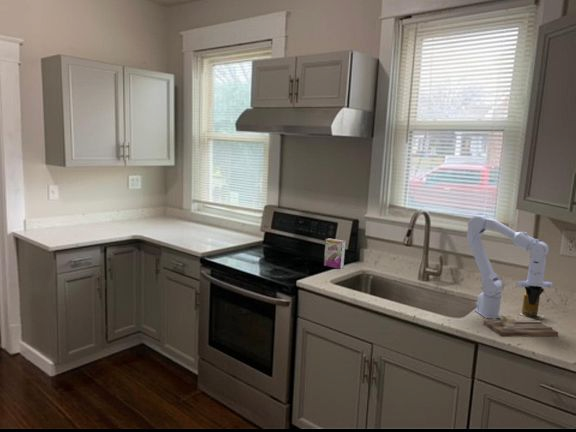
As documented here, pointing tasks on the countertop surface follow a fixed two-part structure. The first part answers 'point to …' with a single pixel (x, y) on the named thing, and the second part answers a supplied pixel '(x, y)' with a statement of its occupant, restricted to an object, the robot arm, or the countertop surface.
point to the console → (522, 329)
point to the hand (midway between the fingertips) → (531, 304)
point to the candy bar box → (334, 253)
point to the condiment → (530, 308)
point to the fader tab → (507, 321)
